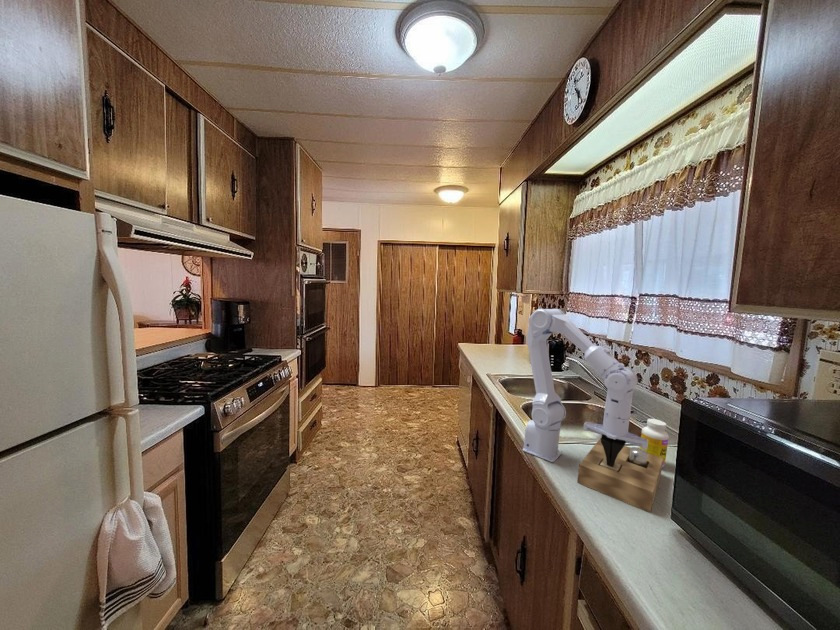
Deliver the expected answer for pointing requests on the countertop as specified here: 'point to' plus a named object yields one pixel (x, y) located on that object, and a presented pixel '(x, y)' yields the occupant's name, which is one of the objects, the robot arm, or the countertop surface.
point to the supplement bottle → (656, 438)
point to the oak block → (622, 477)
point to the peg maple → (614, 468)
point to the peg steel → (638, 457)
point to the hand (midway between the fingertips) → (610, 464)
